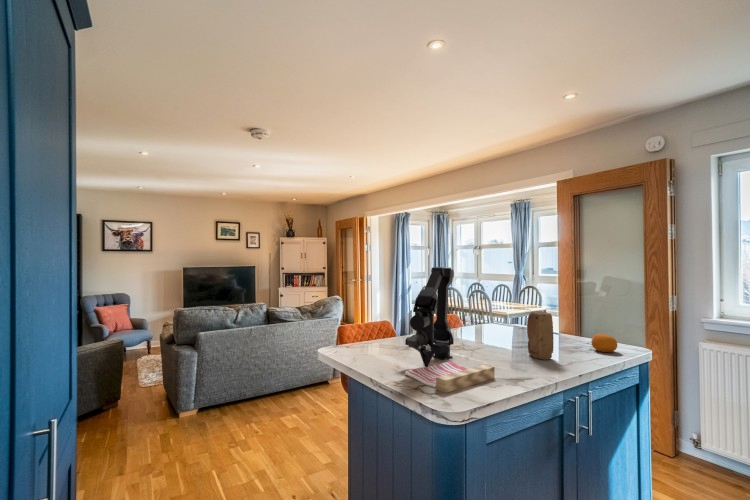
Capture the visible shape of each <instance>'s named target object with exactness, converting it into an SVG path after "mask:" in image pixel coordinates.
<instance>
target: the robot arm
mask: <svg viewBox="0 0 750 500" xmlns="http://www.w3.org/2000/svg"><path fill="white" fill-rule="evenodd" d="M454 277H455V271H454V269H452V267H448V266H447V267H446V266H445V267H443V266H434V267H431V270H430V274H429V278H428V280H427V282H426V285H425V286H424V288H423V289H422V290H421V291H419V293H418V294H417V297H416V298H415V301H414V305H413V310H412V312H413V313H414V315H413V316H411V318H410V319H409V325H410V328H411V329H412V330H413V331H415V334H412V335H411V336H408V337H407V338H405V343H404V344H405V346H408V348H411V349H413V350H414V349H415V350H416V351H417V352H419V354H420V357H421V360H422V362H423V363H422V364H423V366H424V368H425V367H429V365H430V363H431V362H432V359H433V358H435V359H439V360H448V359H452V358H453V355H451V345H454V341H455V340H454V336H453V333H452V330H451V325H450V323H449V322H448V310H449V309H448V305H449V303H448V302H449V287H450V286H451V284H452V283H453V278H454ZM435 312H436V316H435V315H434V314H435ZM434 316H435V317H436V320H434V319H435V317H434Z"/></svg>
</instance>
